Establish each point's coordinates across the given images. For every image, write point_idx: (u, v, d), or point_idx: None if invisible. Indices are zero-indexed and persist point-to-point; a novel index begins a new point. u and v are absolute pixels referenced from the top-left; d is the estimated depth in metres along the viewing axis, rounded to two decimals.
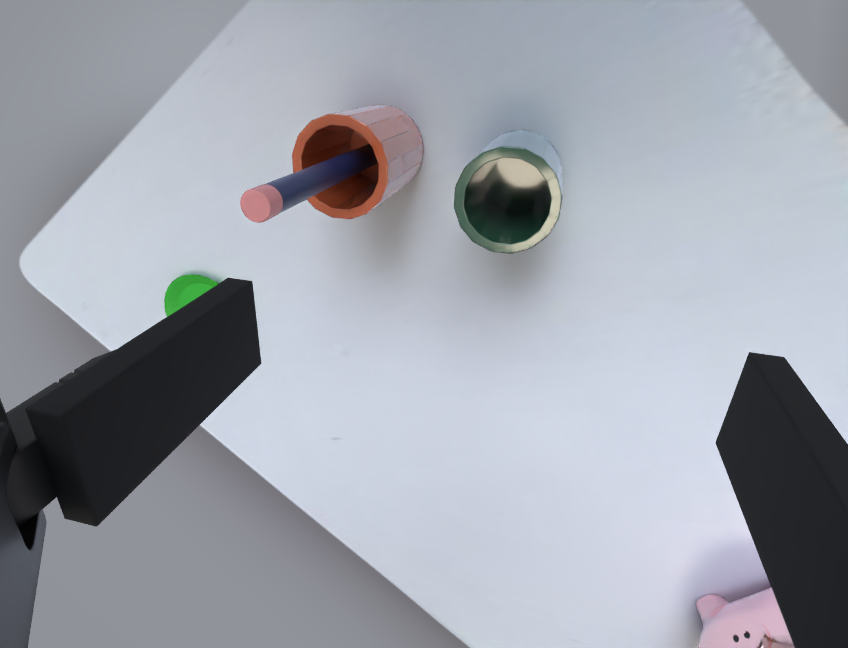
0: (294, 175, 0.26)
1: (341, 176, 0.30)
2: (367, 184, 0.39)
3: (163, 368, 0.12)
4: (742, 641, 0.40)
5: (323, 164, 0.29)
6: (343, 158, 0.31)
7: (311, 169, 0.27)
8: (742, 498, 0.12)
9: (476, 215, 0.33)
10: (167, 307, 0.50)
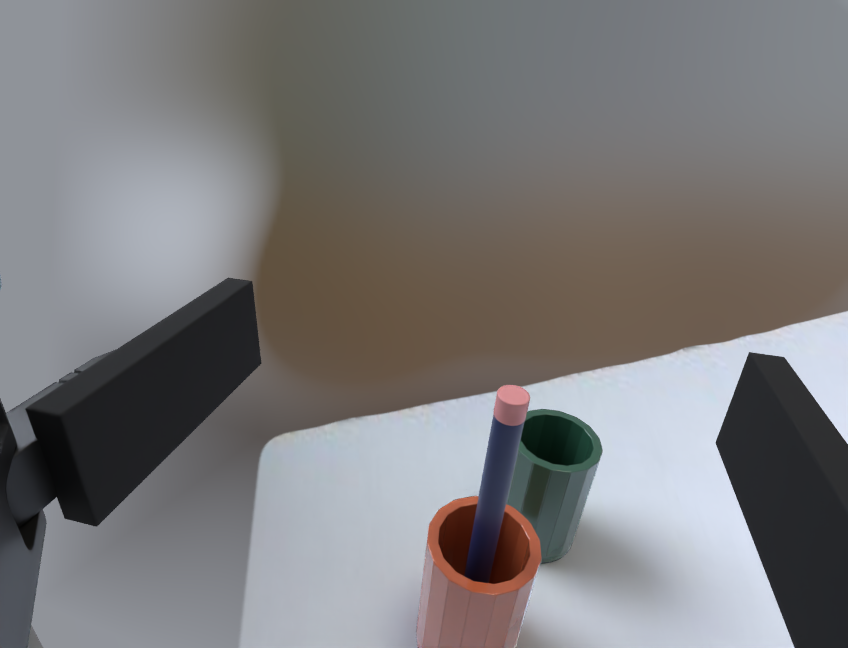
0: None
1: None
2: None
3: (163, 368, 0.12)
4: None
5: None
6: None
7: None
8: (742, 498, 0.12)
9: None
10: None
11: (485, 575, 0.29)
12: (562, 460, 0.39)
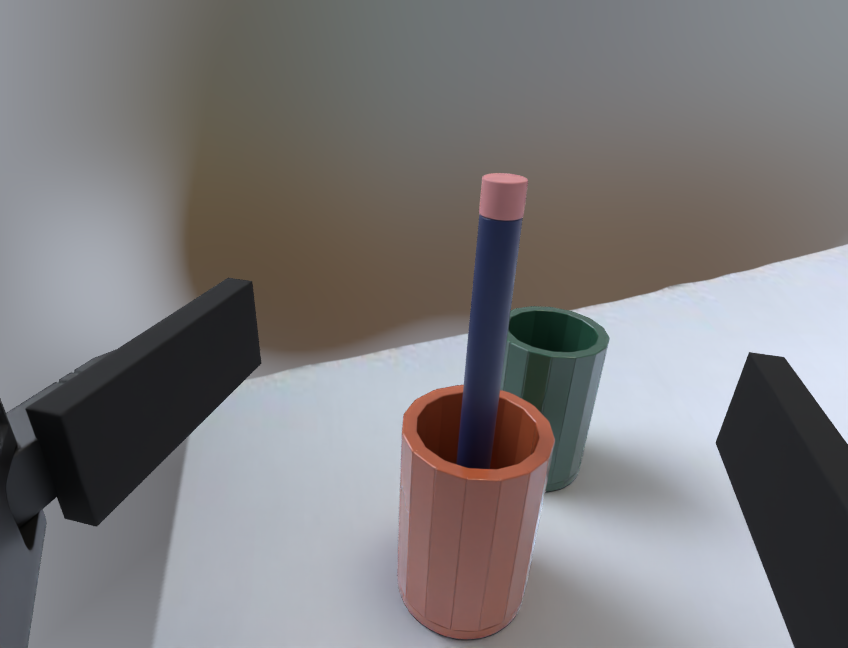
0: None
1: None
2: None
3: (163, 368, 0.12)
4: None
5: None
6: None
7: None
8: (742, 498, 0.12)
9: None
10: None
11: None
12: None
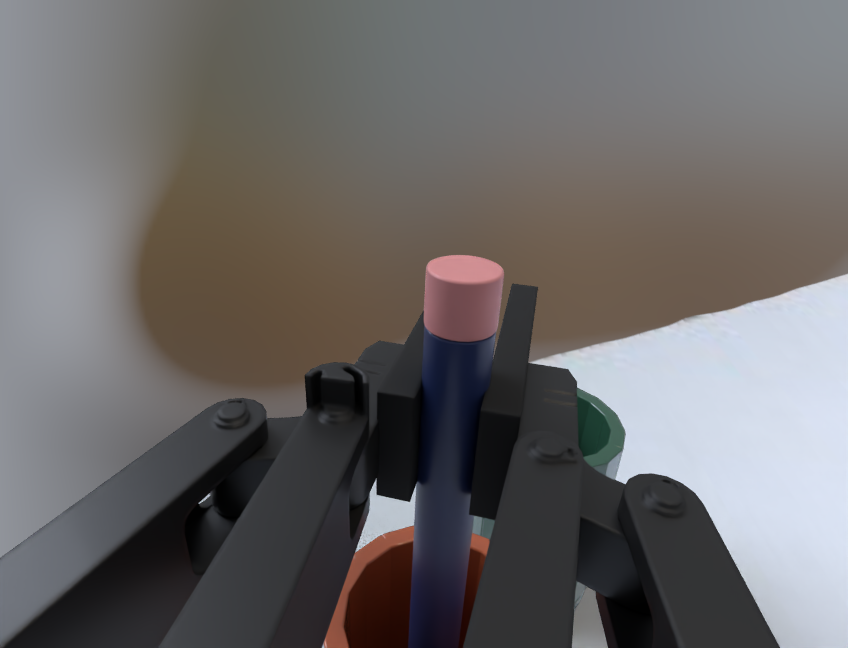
0: None
1: None
2: None
3: None
4: None
5: None
6: None
7: None
8: None
9: None
10: None
11: None
12: None
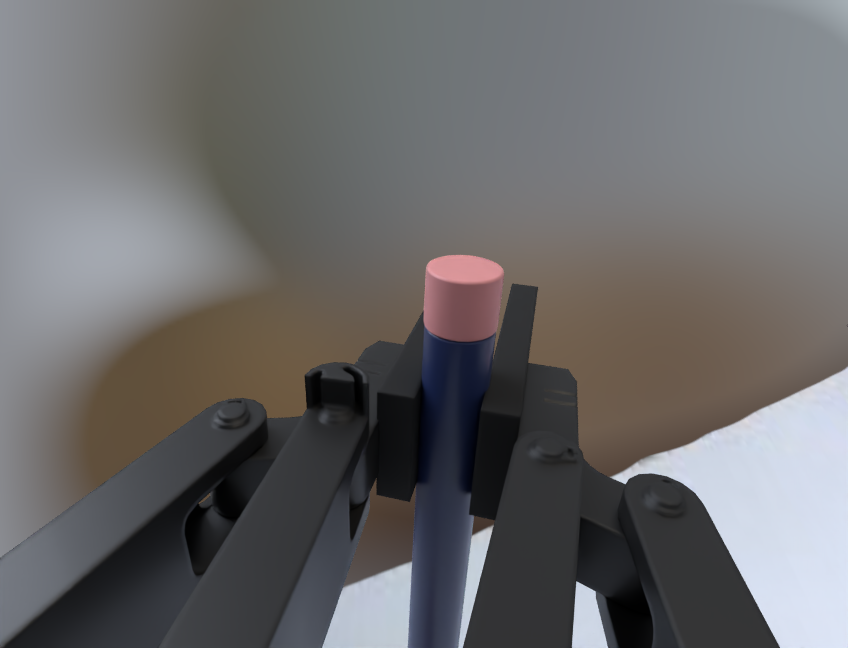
0: None
1: None
2: None
3: None
4: None
5: None
6: None
7: None
8: None
9: None
10: None
11: None
12: None
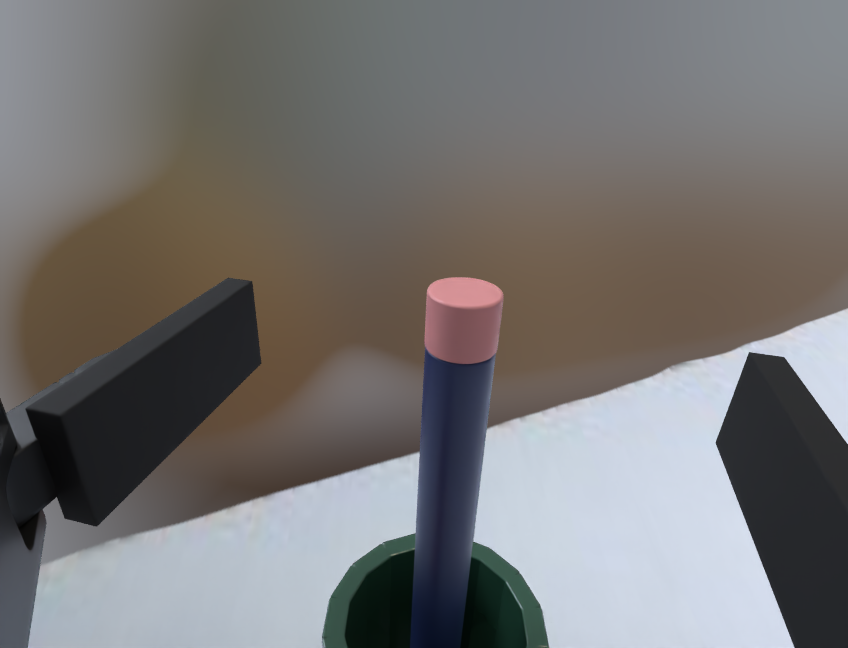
0: None
1: None
2: None
3: (163, 368, 0.12)
4: None
5: None
6: None
7: None
8: (742, 497, 0.12)
9: None
10: None
11: None
12: (471, 638, 0.18)
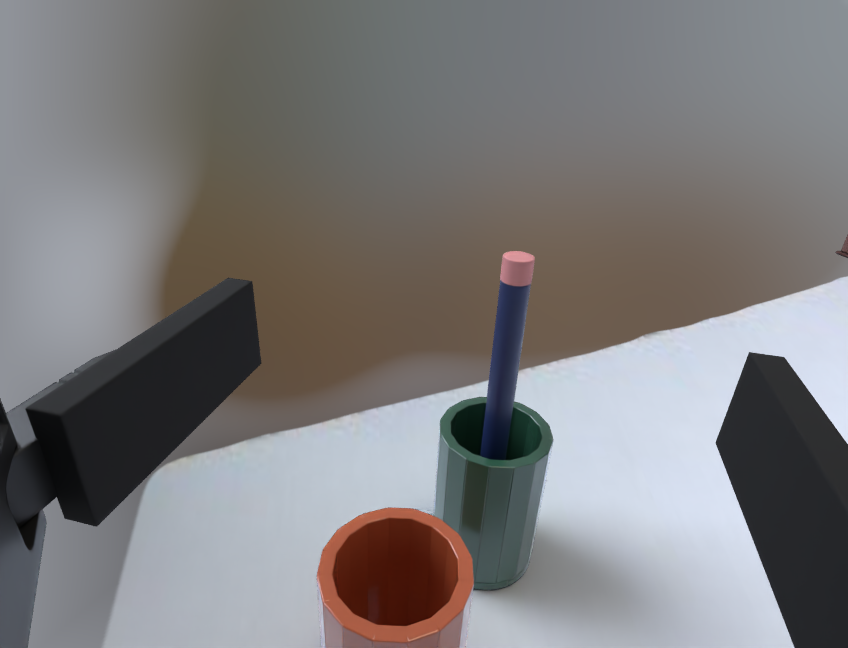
0: None
1: None
2: None
3: (163, 368, 0.12)
4: None
5: None
6: None
7: None
8: (742, 498, 0.12)
9: None
10: None
11: None
12: (509, 459, 0.32)
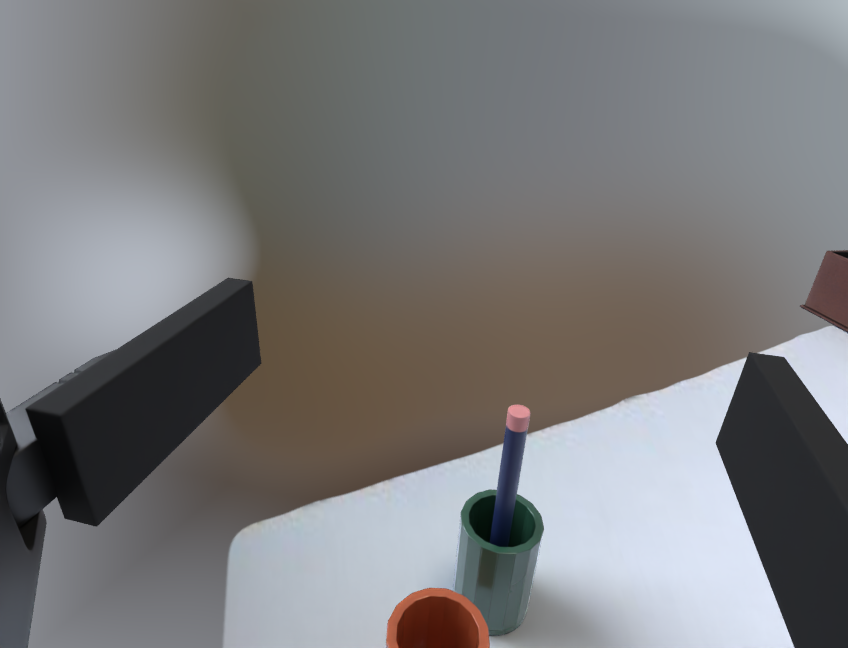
0: (503, 450, 0.37)
1: None
2: None
3: (163, 368, 0.12)
4: None
5: None
6: None
7: None
8: (742, 498, 0.12)
9: None
10: None
11: (505, 546, 0.40)
12: (511, 534, 0.43)
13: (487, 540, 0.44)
